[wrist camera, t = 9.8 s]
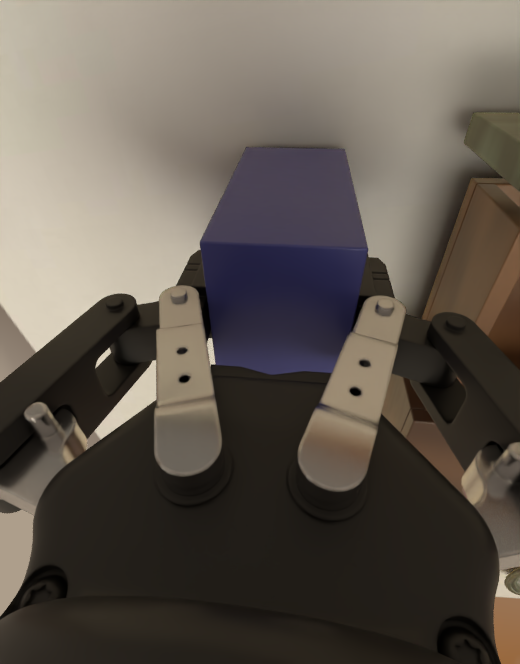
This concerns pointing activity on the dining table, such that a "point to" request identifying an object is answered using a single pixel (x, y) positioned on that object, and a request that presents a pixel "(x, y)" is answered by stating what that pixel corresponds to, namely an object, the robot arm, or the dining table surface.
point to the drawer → (486, 239)
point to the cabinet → (420, 428)
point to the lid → (513, 581)
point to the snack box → (284, 261)
